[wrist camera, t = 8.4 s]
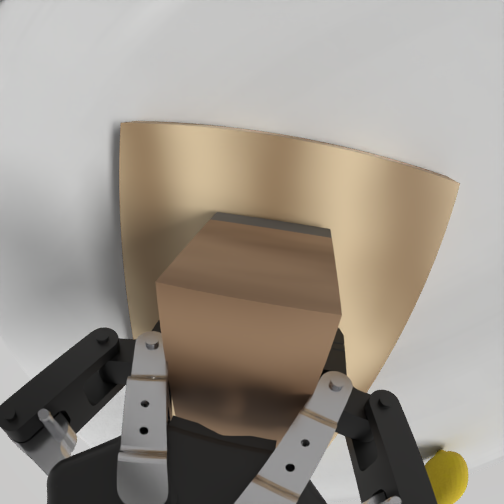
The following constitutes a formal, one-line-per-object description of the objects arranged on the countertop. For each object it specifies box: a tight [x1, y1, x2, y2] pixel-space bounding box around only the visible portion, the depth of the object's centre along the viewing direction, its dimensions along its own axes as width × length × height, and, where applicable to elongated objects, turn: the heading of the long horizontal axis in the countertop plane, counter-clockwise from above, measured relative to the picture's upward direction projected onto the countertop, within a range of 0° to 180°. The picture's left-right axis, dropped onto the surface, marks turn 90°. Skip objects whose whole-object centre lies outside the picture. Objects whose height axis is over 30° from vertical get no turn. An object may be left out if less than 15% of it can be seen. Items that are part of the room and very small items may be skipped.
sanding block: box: [155, 212, 342, 448], centre depth 12 cm, size 9×5×6 cm, turn 175°
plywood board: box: [119, 121, 460, 449], centre depth 19 cm, size 16×28×2 cm, turn 172°
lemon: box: [425, 450, 468, 504], centre depth 19 cm, size 6×6×8 cm
